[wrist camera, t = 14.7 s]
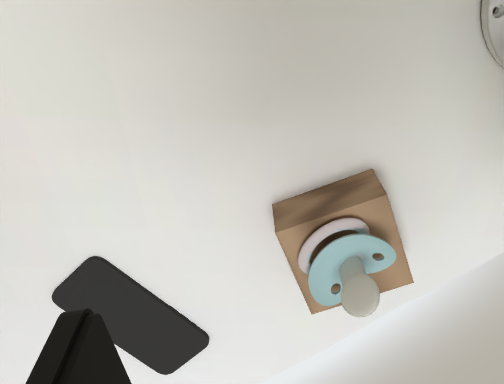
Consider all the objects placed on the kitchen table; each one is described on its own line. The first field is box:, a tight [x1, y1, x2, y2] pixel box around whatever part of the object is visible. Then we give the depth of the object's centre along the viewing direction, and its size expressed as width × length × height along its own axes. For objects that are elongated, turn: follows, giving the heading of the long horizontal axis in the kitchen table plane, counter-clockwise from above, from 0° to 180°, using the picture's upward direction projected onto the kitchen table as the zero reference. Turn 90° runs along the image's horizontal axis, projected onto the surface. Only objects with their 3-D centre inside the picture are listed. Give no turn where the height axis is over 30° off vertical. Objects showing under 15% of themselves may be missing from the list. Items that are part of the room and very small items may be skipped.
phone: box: [52, 256, 209, 375], centre depth 47 cm, size 7×1×15 cm
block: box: [272, 169, 414, 314], centre depth 41 cm, size 9×9×5 cm
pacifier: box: [298, 218, 396, 317], centre depth 35 cm, size 7×6×6 cm
